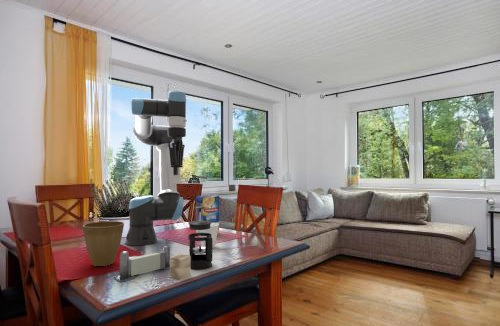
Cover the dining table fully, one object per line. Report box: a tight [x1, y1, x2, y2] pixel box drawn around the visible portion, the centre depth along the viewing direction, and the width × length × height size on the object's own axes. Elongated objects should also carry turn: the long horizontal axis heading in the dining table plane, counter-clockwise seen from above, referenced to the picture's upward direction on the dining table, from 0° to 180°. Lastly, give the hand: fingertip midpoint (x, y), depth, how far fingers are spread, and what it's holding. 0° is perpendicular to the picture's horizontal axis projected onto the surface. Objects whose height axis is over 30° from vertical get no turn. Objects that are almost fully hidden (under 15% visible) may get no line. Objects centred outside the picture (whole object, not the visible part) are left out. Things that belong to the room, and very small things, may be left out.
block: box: [169, 253, 192, 281], centre depth 110 cm, size 5×5×7 cm
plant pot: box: [82, 220, 125, 267], centre depth 124 cm, size 15×15×16 cm
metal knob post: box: [113, 250, 138, 283], centre depth 109 cm, size 8×6×9 cm
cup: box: [201, 223, 220, 249], centre depth 149 cm, size 10×10×11 cm
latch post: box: [162, 245, 171, 271], centre depth 119 cm, size 4×4×8 cm
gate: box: [129, 250, 165, 276], centre depth 113 cm, size 13×3×6 cm, turn 136°
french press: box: [188, 207, 213, 271], centre depth 121 cm, size 12×9×23 cm
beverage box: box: [195, 194, 220, 236], centre depth 176 cm, size 7×11×22 cm, turn 133°
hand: (176, 182), depth 134 cm, fingers closed
